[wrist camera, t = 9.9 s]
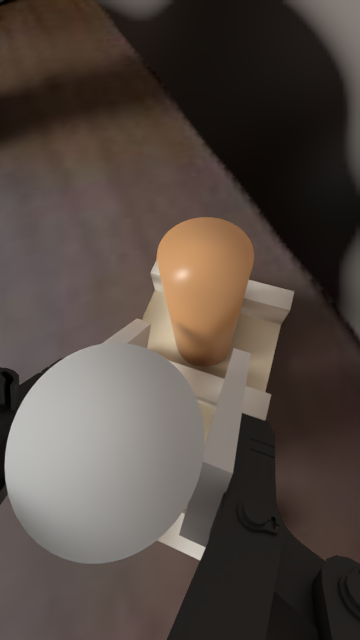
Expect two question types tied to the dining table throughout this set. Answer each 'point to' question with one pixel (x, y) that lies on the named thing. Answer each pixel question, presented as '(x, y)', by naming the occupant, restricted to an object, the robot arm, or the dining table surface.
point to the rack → (222, 363)
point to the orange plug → (204, 285)
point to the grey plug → (104, 453)
